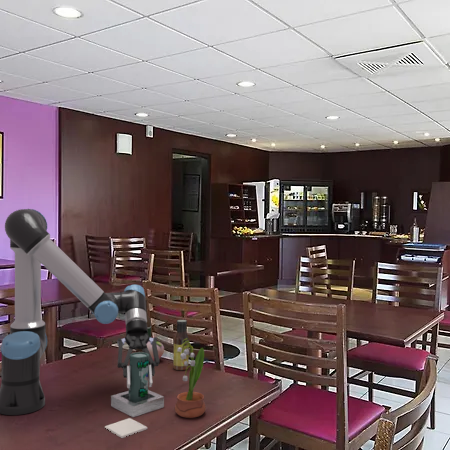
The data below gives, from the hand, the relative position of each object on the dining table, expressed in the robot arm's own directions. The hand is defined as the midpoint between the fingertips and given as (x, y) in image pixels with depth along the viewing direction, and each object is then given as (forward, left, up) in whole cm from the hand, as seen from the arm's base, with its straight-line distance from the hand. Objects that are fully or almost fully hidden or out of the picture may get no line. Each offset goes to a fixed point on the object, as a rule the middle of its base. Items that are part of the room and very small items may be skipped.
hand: (139, 385), depth 166 cm
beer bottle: (+44, +57, -9) cm, 72 cm away
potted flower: (+10, -13, -9) cm, 18 cm away
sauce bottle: (+39, +24, -9) cm, 46 cm away
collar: (+2, +3, -8) cm, 9 cm away
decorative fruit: (+36, +39, -9) cm, 54 cm away
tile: (-11, -8, -8) cm, 16 cm away
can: (+2, +3, -6) cm, 7 cm away
